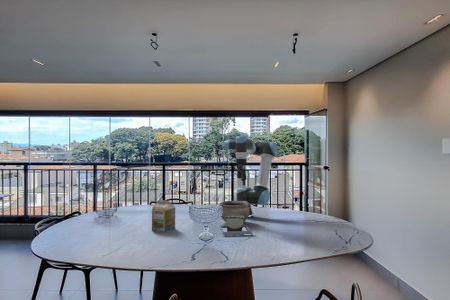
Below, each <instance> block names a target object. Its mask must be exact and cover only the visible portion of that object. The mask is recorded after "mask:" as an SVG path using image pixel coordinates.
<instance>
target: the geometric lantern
mask: <svg viewBox="0 0 450 300" xmlns="http://www.w3.org/2000/svg"><path fill="white" fill-rule="evenodd" d="M114 177H115V178H114ZM98 178H99V179H98ZM92 180H93V181H95V182H96V183H97V184H98V185H97V187H96V199H95V207H94V212H95V213H96V214H98V218H103V219H109V218H111V217H114V214H115V213H116V212H117V211H118V205H117V182H119V180H121V178H120V177H118V176H116V175H114V174H113V173H111V172H107V171H106V172H104V173H103V174H100V175H99V176H97V177H94V178H93V179H92ZM107 181H108V182H110V183H109V185H108V187H106V186H105V185H104V183H105V182H107ZM100 185H102V186H103V188H99V186H100ZM111 185H113V186H114V187H113V188H112V187H111ZM110 187H111V188H110ZM100 190H101V191H102V190H103V192H104V195H103V202H104V203H103V208H102V209H97V208H98V207H97V205H98V192H99V191H100ZM110 190H114V194H115V196H114V197H115V209H113V208H112V209H111V208H110V200H109V199H110V192H109V191H110ZM101 211H102V212H101Z"/></svg>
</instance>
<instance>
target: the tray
mask: <svg viewBox="0 0 450 300" xmlns="http://www.w3.org/2000/svg"><path fill="white" fill-rule="evenodd" d="M243 227H245V228H246V230H247V231H234V232H224V231H223V229H222V228H227V225H226V224H222V225H221V224H219V228H220V230H221V232H222V233H221V232H220V233H221V235H222V234H223V235H244V234H252V233H253V232H252V230H251V229H250V228H249V227H248V226H247V225H246V224H243ZM219 228H218V229H219ZM220 230H219V231H220ZM223 235H222V236H223Z"/></svg>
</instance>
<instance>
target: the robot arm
mask: <svg viewBox="0 0 450 300" xmlns="http://www.w3.org/2000/svg"><path fill="white" fill-rule="evenodd" d="M223 146H224V149H225V150H227V151H235V164H236V165H237V169H236V178H237V179H236V181H237V189H236V193H235V195H236V197H235V199H236V200H235V201H246V202H248V203H249V215H252V214H253V215H254V212H253V209H252V205H257V206H258V205H259V206H266V205H267V204H268V203H269V201H270V198H271V192H270V191H269V188H268V183H269V179H270V178H269V177H270V173H271V172H270V171H271V168H272V167H271V166H272V161H273V160H274V159H275V157H277V156H278V152H279V151H278V145H277V142H274V141H261V142H260V141H257V142H255V141H254V140H253V139H247V136H246V135H241V136H235V139H226V140H225V141H224V142H223ZM248 154H250V155H254V156H259V157H260V158H261V160H260V165H259V169H258V173H257V178H256V183H255V185H254V186H253V188H252V187H251V186H246V185H247V184H246V183H247V182H246V181H247V171H246V165H247V162H248V159H247V158H248V156H247V155H248Z"/></svg>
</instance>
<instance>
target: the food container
mask: <svg viewBox="0 0 450 300" xmlns="http://www.w3.org/2000/svg"><path fill="white" fill-rule="evenodd" d="M225 219H226V222H225V225H227V232H234V231H242V228H243V225H244V222H243V219H244V216H242V215H235V214H233V215H226V217H225Z"/></svg>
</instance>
